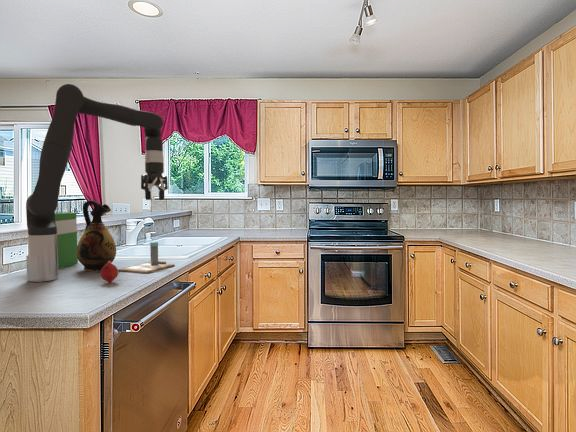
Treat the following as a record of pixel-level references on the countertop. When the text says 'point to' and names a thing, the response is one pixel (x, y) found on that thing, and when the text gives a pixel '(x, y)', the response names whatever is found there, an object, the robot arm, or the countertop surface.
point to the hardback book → (66, 239)
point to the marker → (154, 253)
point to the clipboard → (147, 267)
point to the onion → (109, 272)
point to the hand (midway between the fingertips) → (155, 199)
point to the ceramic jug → (95, 239)
